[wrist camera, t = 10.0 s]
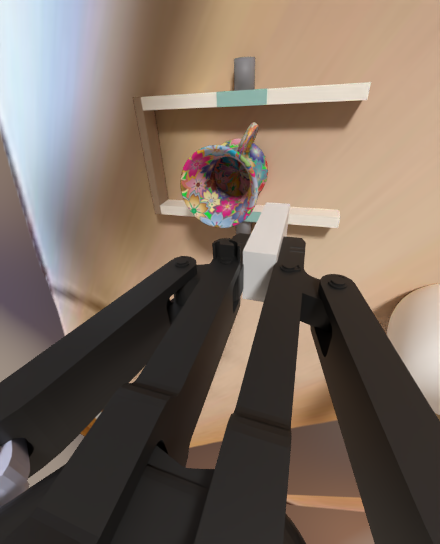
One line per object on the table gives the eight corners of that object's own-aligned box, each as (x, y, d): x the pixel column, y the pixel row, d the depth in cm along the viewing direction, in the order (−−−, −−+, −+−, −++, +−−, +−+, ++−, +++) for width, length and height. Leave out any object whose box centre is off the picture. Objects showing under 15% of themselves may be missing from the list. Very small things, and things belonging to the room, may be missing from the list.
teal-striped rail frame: (140, 70, 34) (126, 68, 32) (374, 47, 27) (380, 42, 24) (166, 223, 47) (157, 230, 44) (332, 238, 39) (333, 248, 36)
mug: (250, 212, 41) (232, 242, 32) (200, 180, 40) (169, 202, 32) (297, 138, 33) (290, 151, 25) (237, 99, 33) (209, 98, 25)
